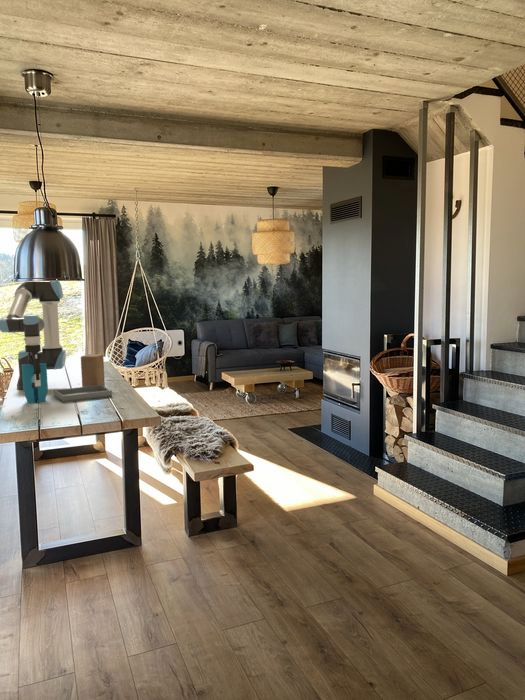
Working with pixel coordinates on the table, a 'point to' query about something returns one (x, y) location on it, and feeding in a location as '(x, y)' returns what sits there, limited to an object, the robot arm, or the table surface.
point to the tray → (82, 393)
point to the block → (29, 391)
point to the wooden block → (92, 370)
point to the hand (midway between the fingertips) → (35, 384)
